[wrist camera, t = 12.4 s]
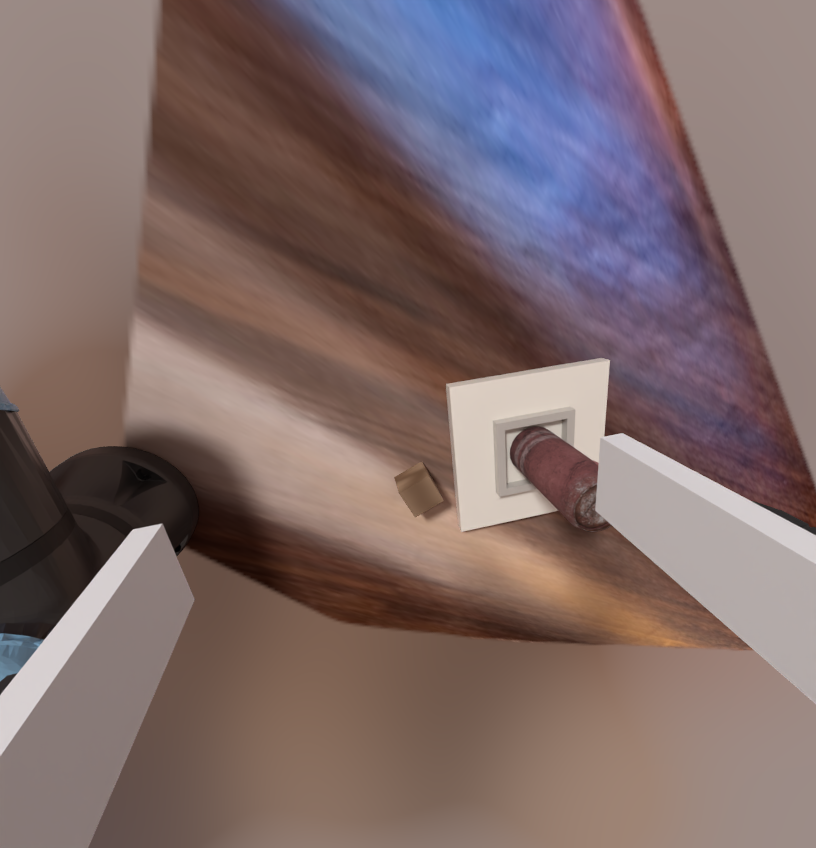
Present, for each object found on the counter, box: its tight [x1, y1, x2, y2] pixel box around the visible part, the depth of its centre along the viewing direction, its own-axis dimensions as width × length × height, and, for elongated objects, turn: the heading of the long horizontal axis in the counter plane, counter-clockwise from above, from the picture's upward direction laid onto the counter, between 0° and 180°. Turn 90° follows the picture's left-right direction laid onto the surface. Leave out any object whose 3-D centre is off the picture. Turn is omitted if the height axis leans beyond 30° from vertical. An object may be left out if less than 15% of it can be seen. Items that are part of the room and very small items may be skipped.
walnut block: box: [394, 462, 444, 517], centre depth 47 cm, size 4×4×4 cm
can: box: [510, 426, 612, 532], centre depth 42 cm, size 6×6×14 cm
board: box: [446, 358, 610, 532], centre depth 49 cm, size 20×20×3 cm
